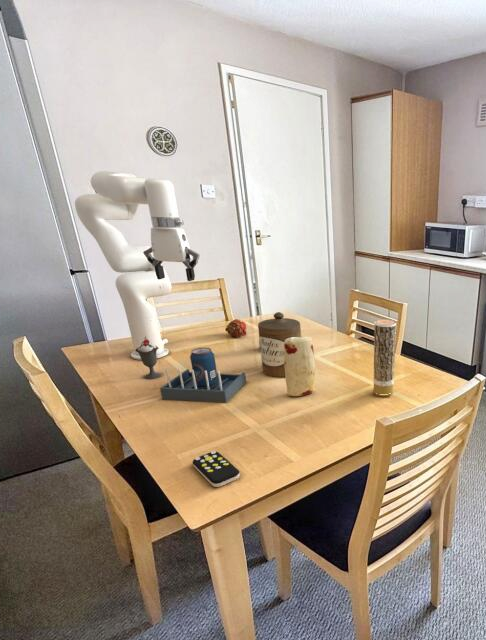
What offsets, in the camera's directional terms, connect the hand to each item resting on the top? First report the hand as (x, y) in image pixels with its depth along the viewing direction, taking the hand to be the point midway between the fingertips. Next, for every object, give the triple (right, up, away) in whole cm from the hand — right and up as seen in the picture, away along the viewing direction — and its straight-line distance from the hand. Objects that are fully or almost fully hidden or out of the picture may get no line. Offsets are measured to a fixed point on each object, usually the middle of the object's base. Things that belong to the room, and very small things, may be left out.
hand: (176, 279), depth 133 cm
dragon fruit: (-4, -12, +55) cm, 56 cm away
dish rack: (+9, -36, +2) cm, 37 cm away
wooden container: (+28, -29, +21) cm, 46 cm away
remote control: (+31, -55, -37) cm, 73 cm away
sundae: (-14, -32, +10) cm, 36 cm away
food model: (+40, -38, +3) cm, 55 cm away
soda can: (+9, -35, +2) cm, 36 cm away
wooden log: (+67, -38, +7) cm, 77 cm away
